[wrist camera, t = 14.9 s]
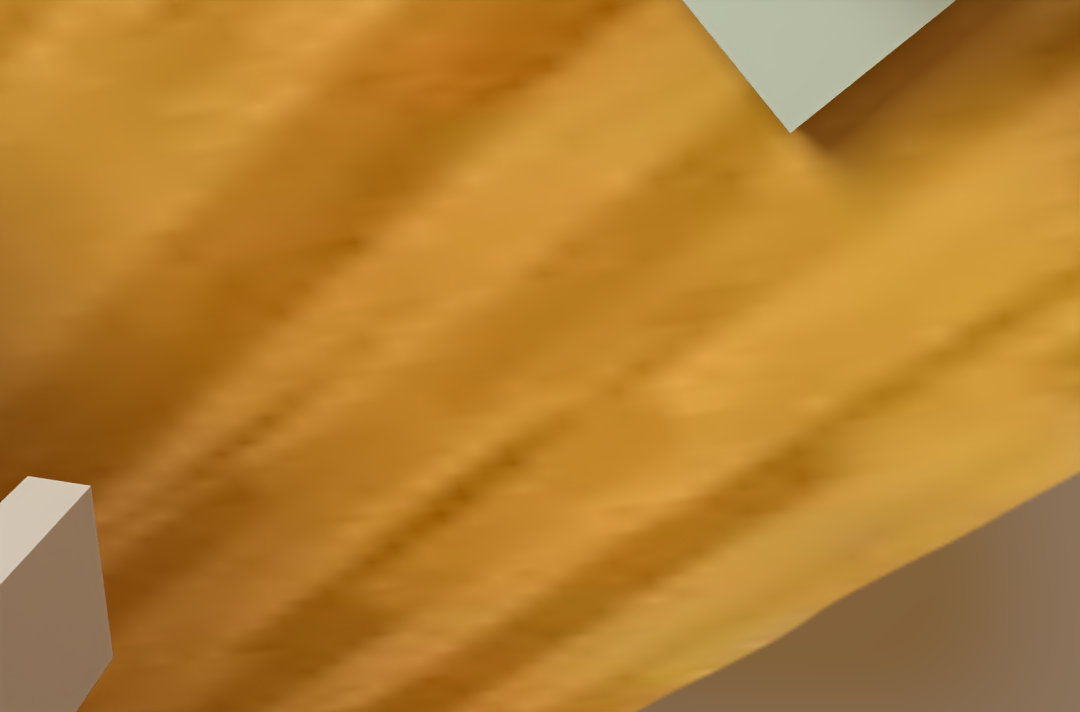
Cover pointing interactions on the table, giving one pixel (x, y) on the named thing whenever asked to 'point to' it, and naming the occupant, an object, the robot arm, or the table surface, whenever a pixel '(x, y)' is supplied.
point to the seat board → (809, 44)
